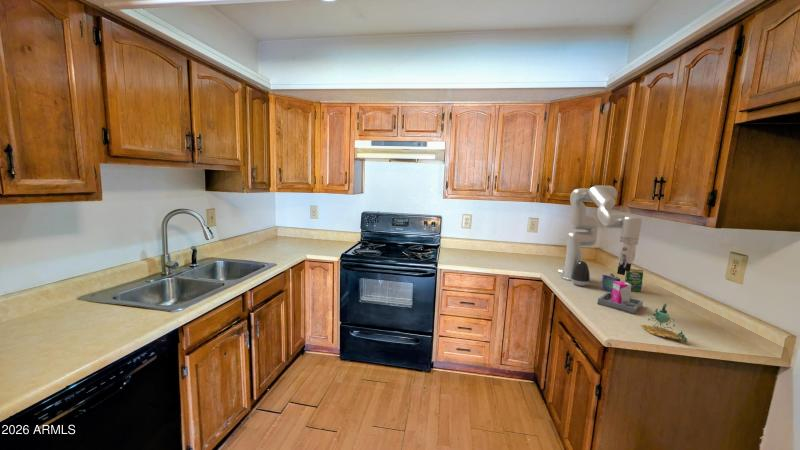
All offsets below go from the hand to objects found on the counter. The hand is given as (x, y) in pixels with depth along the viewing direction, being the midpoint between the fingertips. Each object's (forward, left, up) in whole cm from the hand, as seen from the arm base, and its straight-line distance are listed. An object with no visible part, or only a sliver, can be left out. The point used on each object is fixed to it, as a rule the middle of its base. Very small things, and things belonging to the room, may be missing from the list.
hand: (623, 272), depth 160 cm
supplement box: (0, 0, -17) cm, 17 cm away
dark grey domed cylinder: (-26, +19, -18) cm, 36 cm away
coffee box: (-2, +34, -18) cm, 38 cm away
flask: (-10, +20, -18) cm, 28 cm away
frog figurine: (+21, -24, -18) cm, 37 cm away
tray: (0, 0, -18) cm, 18 cm away
